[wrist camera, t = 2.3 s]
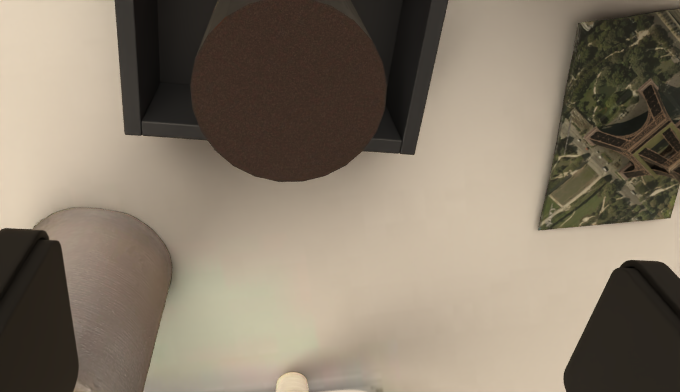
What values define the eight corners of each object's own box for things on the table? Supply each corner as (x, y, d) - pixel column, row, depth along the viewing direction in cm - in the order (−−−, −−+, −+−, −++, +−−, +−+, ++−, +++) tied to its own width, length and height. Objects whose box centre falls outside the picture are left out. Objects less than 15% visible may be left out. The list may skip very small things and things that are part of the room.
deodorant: (231, -78, 28) (195, -21, 15) (347, -56, 29) (407, 14, 16) (222, 40, 31) (185, 171, 18) (328, 56, 32) (365, 190, 19)
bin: (147, 90, 32) (124, 135, 27) (135, -168, 26) (101, -174, 21) (393, 111, 34) (414, 155, 29) (437, -122, 28) (474, -117, 23)
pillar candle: (101, 335, 41) (25, 548, 29) (-11, 253, 37) (-162, 463, 24) (203, 272, 39) (169, 471, 27) (97, 175, 35) (-4, 361, 22)
